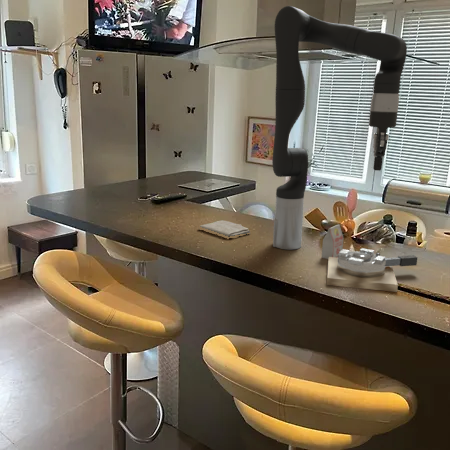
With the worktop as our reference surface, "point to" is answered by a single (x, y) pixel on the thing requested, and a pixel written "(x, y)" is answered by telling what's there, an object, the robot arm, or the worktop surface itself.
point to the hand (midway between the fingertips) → (377, 169)
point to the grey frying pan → (369, 262)
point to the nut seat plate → (361, 278)
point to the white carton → (332, 242)
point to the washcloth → (226, 228)
